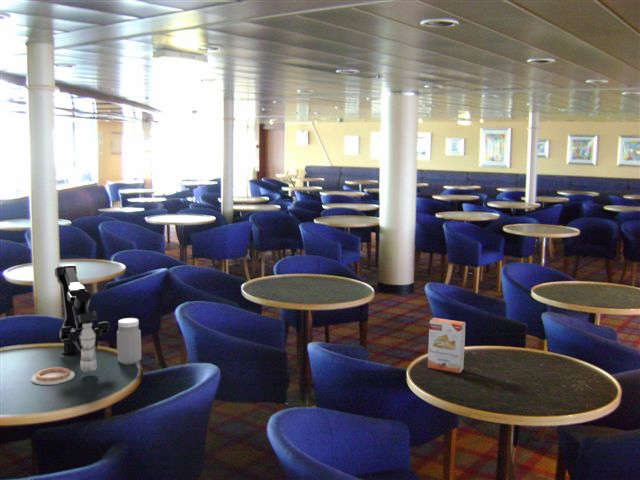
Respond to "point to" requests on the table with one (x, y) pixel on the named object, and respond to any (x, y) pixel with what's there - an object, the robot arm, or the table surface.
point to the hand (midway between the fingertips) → (88, 348)
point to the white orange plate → (53, 376)
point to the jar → (128, 341)
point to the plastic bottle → (87, 347)
